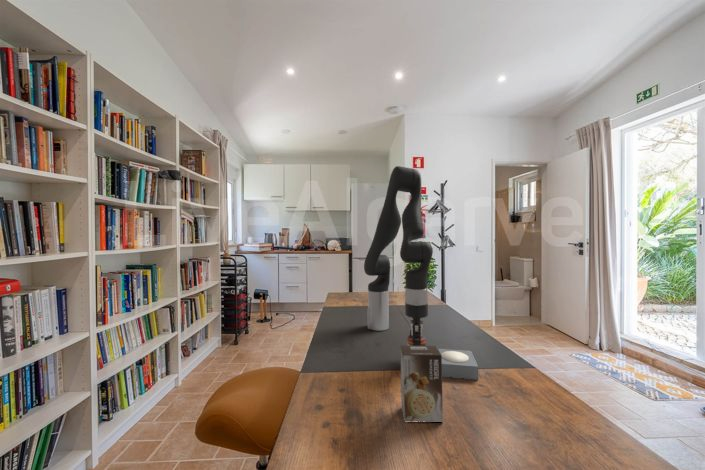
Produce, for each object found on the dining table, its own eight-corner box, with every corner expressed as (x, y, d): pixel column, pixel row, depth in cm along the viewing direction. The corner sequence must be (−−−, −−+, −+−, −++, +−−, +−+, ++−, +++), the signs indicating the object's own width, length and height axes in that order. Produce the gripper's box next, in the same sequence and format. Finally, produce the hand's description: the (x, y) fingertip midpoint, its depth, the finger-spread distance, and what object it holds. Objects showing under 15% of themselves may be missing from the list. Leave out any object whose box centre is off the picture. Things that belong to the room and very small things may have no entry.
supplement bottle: (426, 361, 105) (426, 328, 105) (424, 368, 100) (424, 333, 100) (409, 358, 107) (408, 326, 107) (406, 366, 102) (406, 332, 101)
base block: (436, 376, 94) (436, 362, 94) (434, 359, 106) (434, 347, 106) (478, 379, 92) (478, 365, 92) (471, 362, 104) (471, 350, 104)
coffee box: (437, 408, 78) (437, 344, 78) (443, 424, 72) (443, 355, 71) (400, 407, 78) (400, 344, 78) (403, 423, 72) (403, 354, 72)
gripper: (405, 296, 111) (406, 342, 111) (404, 306, 97) (404, 358, 97) (427, 297, 109) (427, 343, 110) (428, 307, 95) (429, 360, 96)
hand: (416, 350), depth 103 cm, fingers open, 7 cm apart
